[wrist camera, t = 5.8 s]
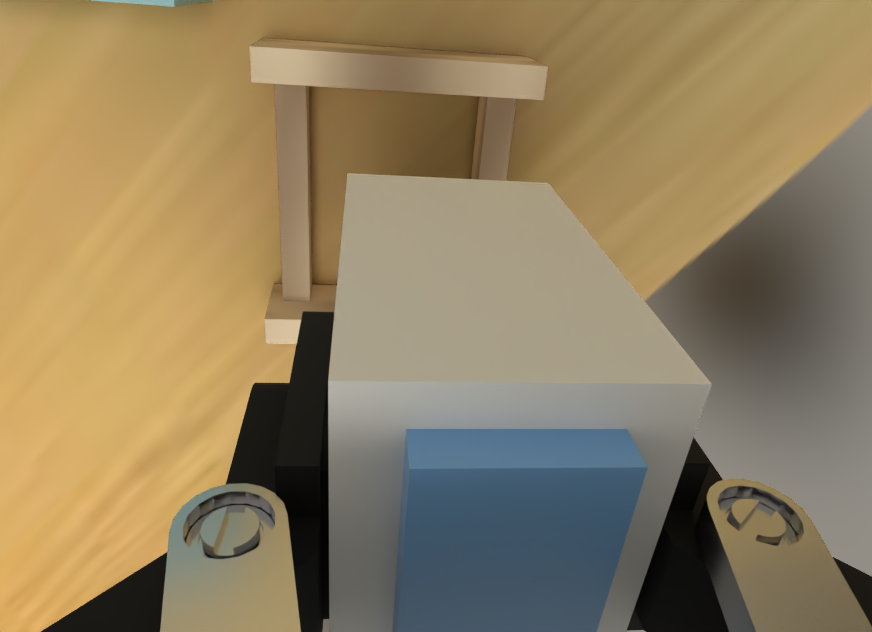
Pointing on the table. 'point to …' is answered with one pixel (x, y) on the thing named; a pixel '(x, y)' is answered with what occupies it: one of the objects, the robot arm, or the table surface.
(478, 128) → the wooden frame
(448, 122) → the table surface
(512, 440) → the white box blue label
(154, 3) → the block
